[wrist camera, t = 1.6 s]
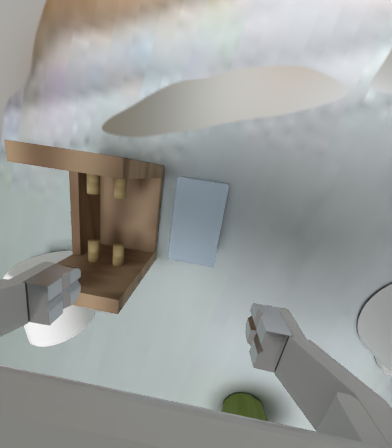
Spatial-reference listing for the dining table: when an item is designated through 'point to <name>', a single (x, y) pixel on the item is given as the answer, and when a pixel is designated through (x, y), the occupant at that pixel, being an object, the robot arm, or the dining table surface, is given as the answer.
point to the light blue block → (197, 220)
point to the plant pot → (244, 406)
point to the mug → (67, 322)
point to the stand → (105, 219)
